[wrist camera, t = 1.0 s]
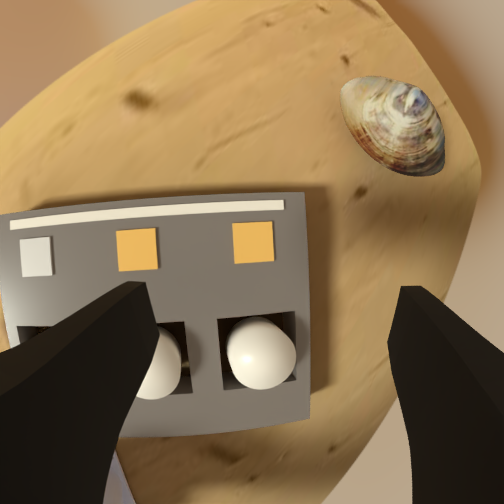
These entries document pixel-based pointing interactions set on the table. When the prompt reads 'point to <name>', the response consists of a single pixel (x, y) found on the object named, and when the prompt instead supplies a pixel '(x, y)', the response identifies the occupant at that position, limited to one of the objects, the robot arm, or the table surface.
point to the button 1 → (260, 353)
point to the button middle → (162, 368)
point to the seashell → (394, 124)
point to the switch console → (173, 291)
